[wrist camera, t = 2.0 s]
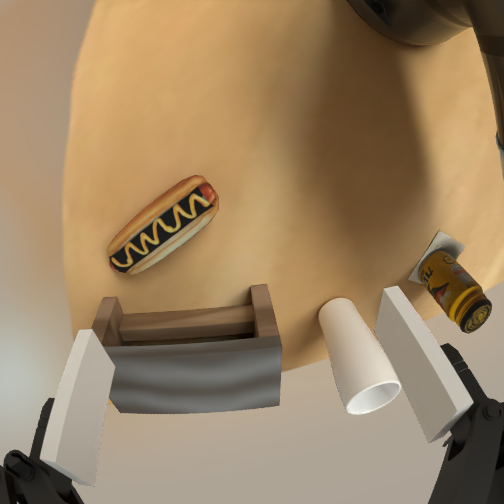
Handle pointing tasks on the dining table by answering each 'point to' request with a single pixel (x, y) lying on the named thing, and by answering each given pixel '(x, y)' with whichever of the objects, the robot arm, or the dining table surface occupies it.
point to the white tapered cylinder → (356, 359)
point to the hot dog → (163, 225)
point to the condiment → (452, 284)
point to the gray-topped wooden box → (193, 358)
